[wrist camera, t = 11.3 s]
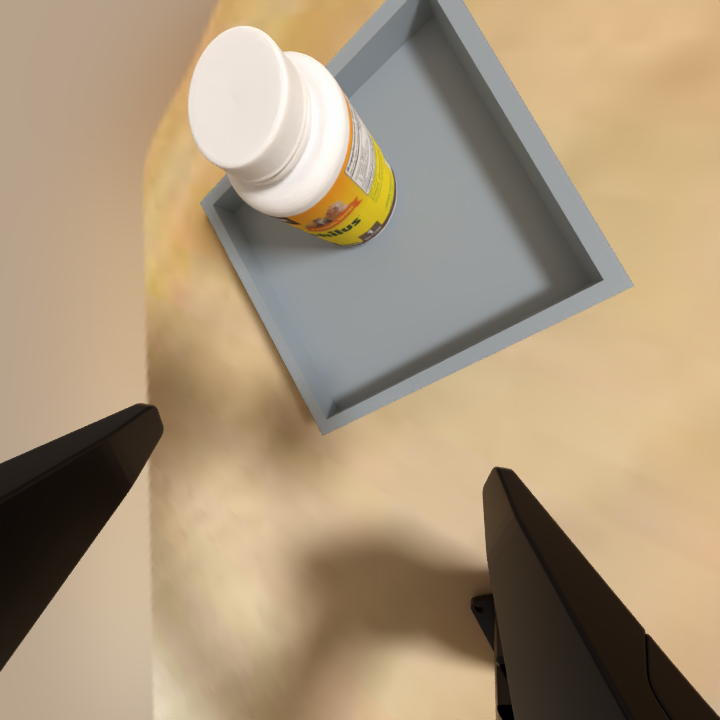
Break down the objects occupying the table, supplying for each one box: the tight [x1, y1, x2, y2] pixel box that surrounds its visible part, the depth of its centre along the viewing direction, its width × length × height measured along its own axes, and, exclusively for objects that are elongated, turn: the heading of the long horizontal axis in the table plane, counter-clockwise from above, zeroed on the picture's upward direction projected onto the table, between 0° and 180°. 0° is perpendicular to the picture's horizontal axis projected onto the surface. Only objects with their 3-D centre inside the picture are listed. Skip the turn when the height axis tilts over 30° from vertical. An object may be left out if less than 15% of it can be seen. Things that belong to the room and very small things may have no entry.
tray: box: [200, 0, 634, 435], centre depth 18 cm, size 18×18×2 cm
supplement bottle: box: [188, 26, 397, 247], centre depth 14 cm, size 6×6×10 cm
